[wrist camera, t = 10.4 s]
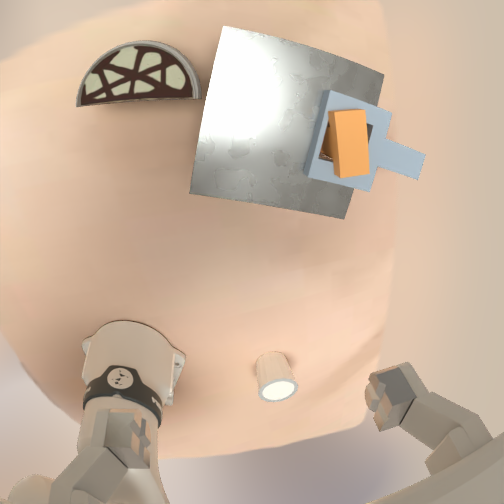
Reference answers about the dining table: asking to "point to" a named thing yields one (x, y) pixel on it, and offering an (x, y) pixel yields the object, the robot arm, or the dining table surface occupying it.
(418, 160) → the bracket
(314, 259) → the dining table surface
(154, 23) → the dining table surface
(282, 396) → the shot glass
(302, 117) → the metal plate
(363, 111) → the orange t-shaped block
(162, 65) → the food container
